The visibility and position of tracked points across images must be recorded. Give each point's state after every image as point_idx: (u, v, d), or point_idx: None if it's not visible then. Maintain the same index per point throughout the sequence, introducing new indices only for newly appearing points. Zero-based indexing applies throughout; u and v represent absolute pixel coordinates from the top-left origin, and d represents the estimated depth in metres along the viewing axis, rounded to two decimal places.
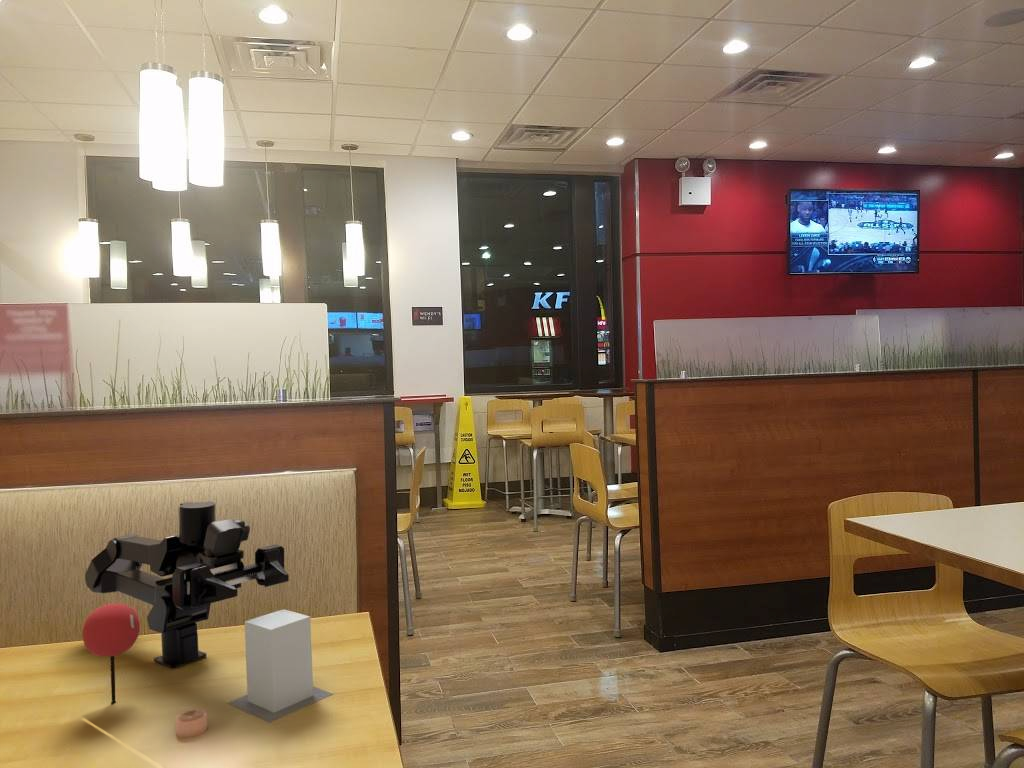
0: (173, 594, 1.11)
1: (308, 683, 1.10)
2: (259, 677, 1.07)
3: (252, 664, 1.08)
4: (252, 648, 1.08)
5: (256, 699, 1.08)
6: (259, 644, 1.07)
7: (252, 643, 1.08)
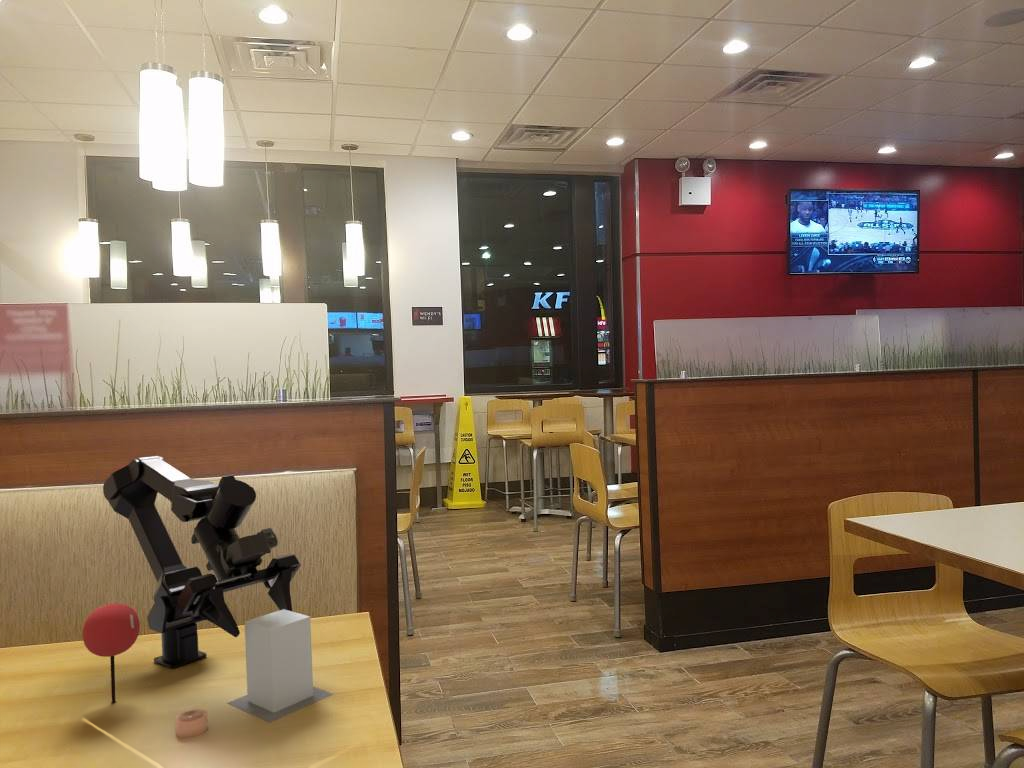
0: (180, 597, 1.09)
1: (308, 683, 1.10)
2: (259, 677, 1.07)
3: (252, 664, 1.08)
4: (252, 648, 1.08)
5: (256, 699, 1.08)
6: (259, 644, 1.07)
7: (252, 643, 1.08)
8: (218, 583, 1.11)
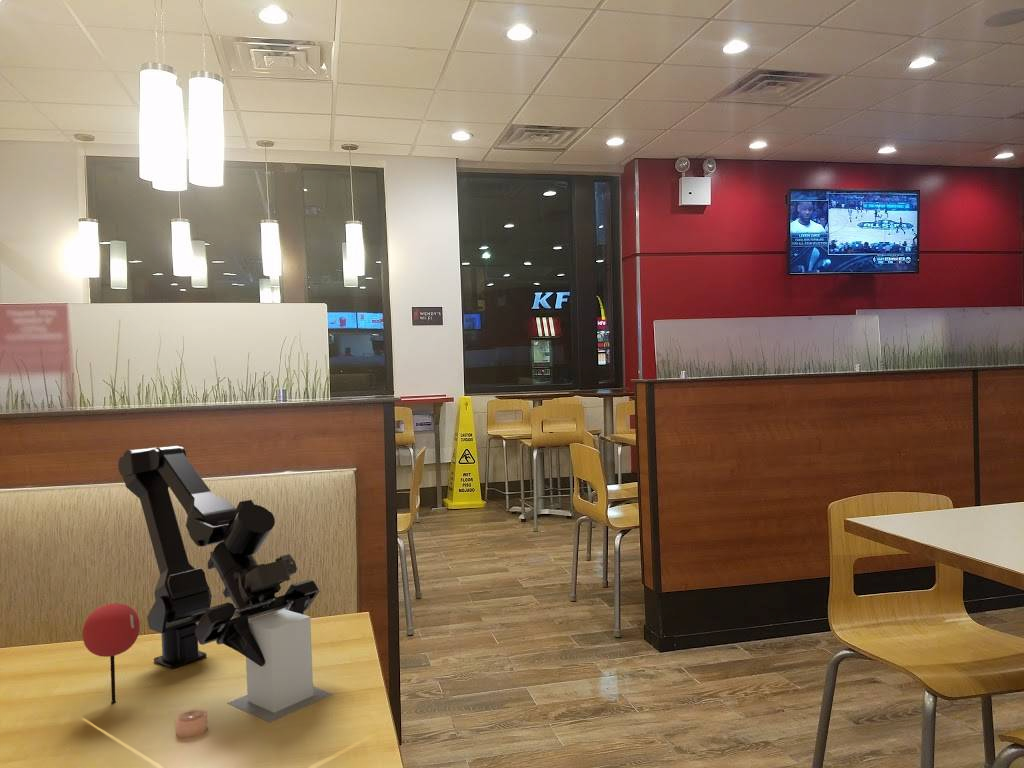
0: (198, 626, 1.06)
1: (308, 683, 1.10)
2: (259, 677, 1.07)
3: (252, 664, 1.08)
4: None
5: (256, 699, 1.08)
6: (259, 644, 1.07)
7: None
8: None
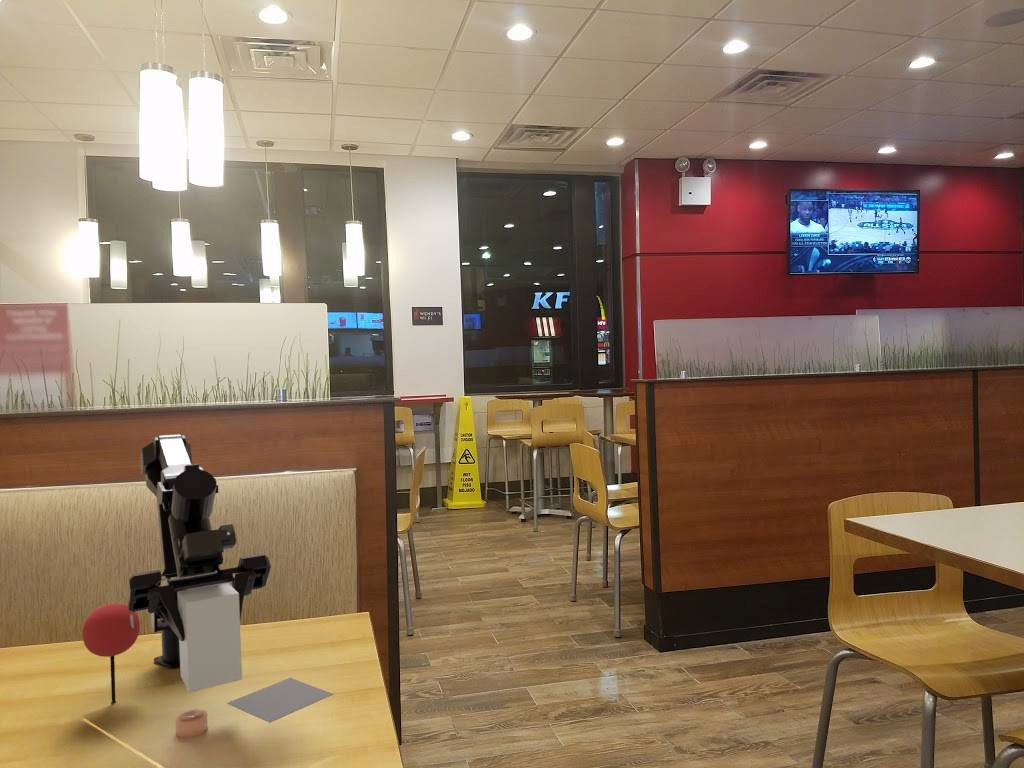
0: (127, 592, 1.02)
1: (235, 665, 1.01)
2: (183, 652, 1.00)
3: None
4: None
5: (183, 675, 1.01)
6: (182, 617, 1.00)
7: (180, 615, 1.01)
8: None
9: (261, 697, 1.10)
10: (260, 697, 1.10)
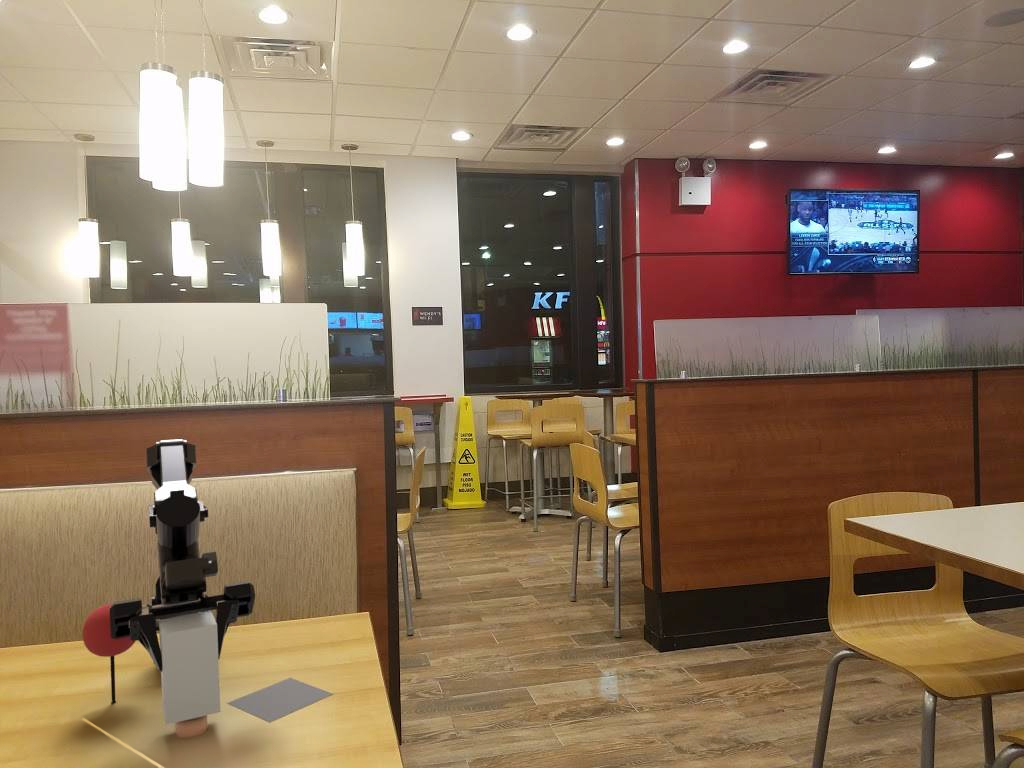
0: None
1: (213, 697, 0.99)
2: (162, 683, 0.99)
3: None
4: (160, 650, 1.00)
5: None
6: None
7: (160, 645, 1.00)
8: (149, 609, 1.01)
9: (261, 697, 1.10)
10: (260, 697, 1.10)
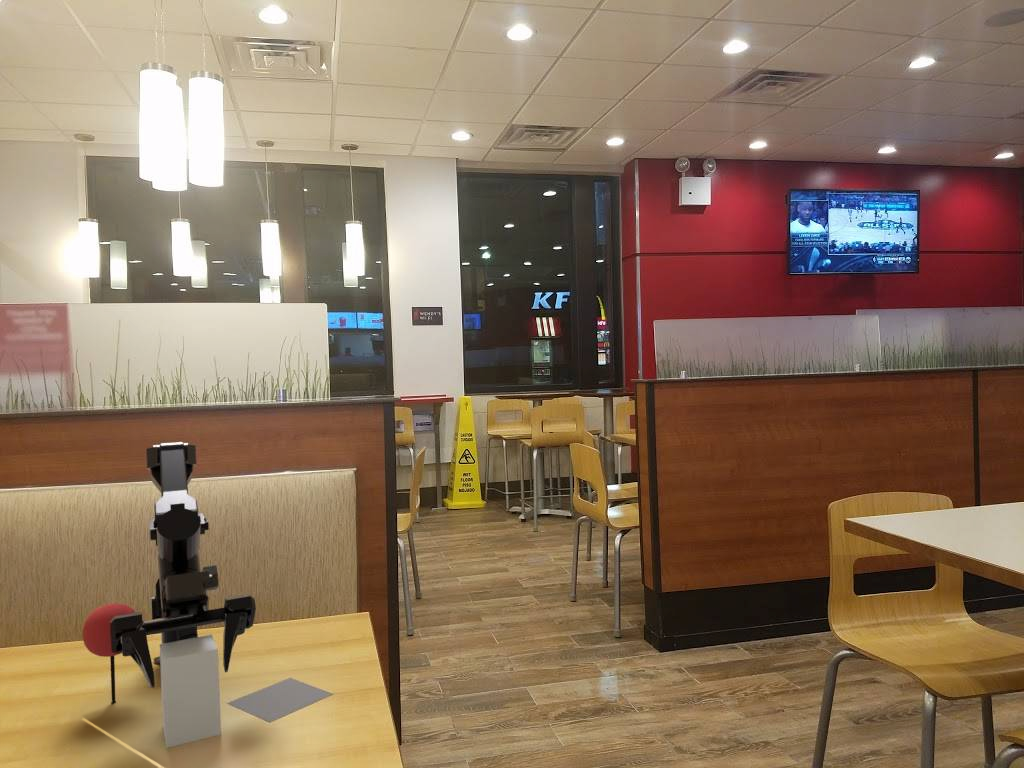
0: None
1: (214, 722, 0.99)
2: (163, 708, 0.99)
3: None
4: (161, 675, 1.00)
5: None
6: None
7: None
8: (150, 623, 1.01)
9: (261, 697, 1.10)
10: (260, 697, 1.10)
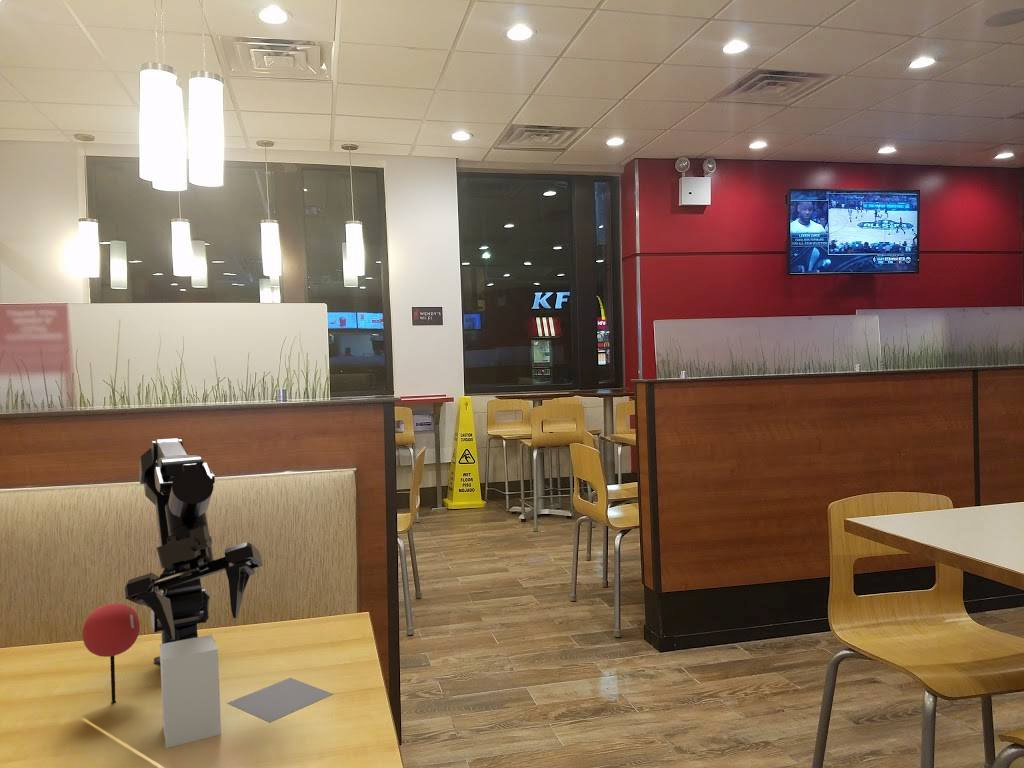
0: None
1: (214, 722, 0.99)
2: (163, 708, 0.99)
3: None
4: (161, 675, 1.00)
5: None
6: None
7: None
8: (161, 581, 1.09)
9: (261, 697, 1.10)
10: (260, 697, 1.10)
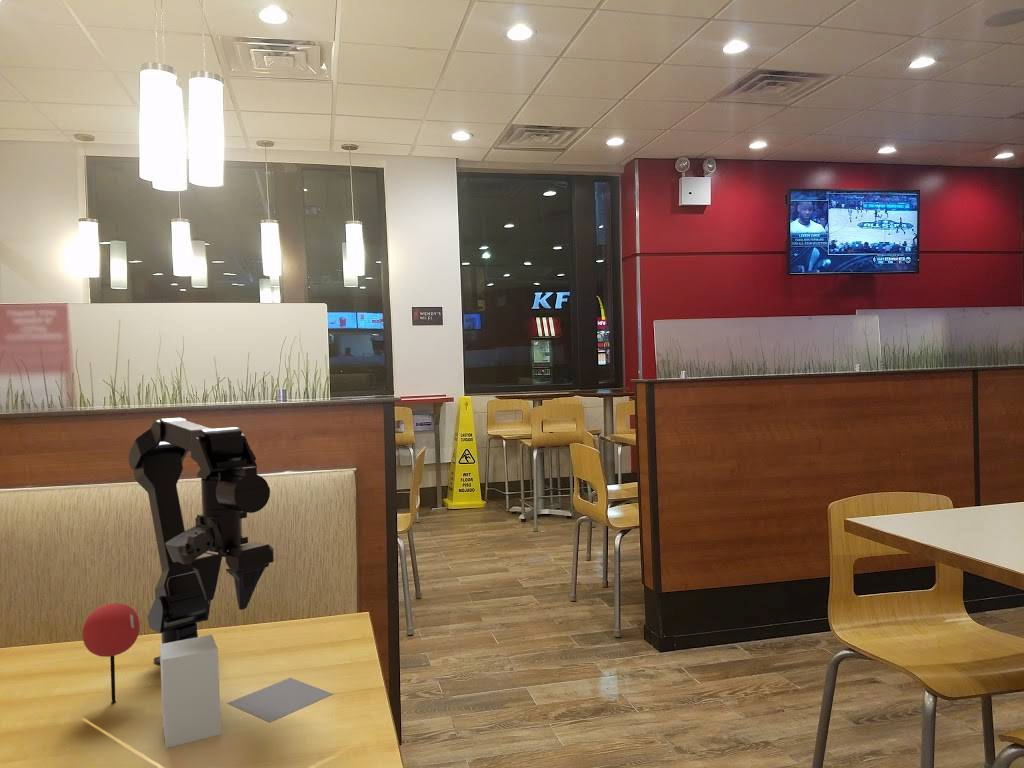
0: None
1: (214, 722, 0.99)
2: (163, 708, 0.99)
3: None
4: (161, 675, 1.00)
5: None
6: None
7: None
8: None
9: (261, 697, 1.10)
10: (260, 697, 1.10)
